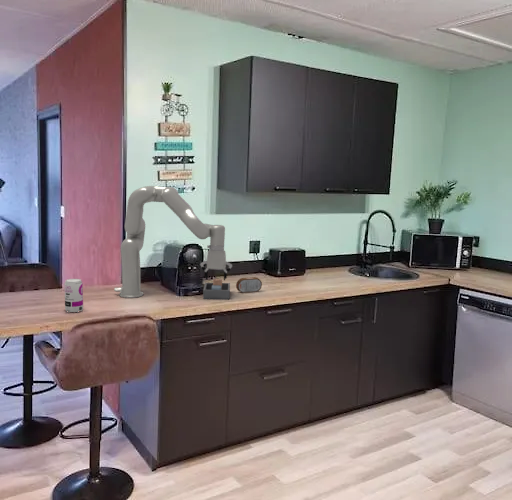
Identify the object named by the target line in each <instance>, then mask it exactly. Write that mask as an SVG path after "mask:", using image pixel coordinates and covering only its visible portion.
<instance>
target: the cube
mask: <svg viewBox="0 0 512 500" xmlns="http://www.w3.org/2000/svg"><path fill="white" fill-rule="evenodd" d="M212 290H221V285H212Z"/></svg>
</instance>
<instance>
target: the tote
mask: <svg viewBox="0 0 512 500" xmlns="http://www.w3.org/2000/svg"><path fill="white" fill-rule="evenodd" d="M212 285H213V282H205V283H204V285H203V290H202V298H203V300H224V301H226V300H229V301H230V298H231V297H230V295H231V283H230V282H222V290H212Z"/></svg>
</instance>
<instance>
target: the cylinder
mask: <svg viewBox="0 0 512 500" xmlns="http://www.w3.org/2000/svg"><path fill="white" fill-rule="evenodd" d="M212 283H213V285H221V290H222V283H223V279H222V278H213V279H212Z"/></svg>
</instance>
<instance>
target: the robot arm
mask: <svg viewBox="0 0 512 500" xmlns="http://www.w3.org/2000/svg"><path fill="white" fill-rule="evenodd" d="M155 202H156V203H164V204H165V205H166V206H167V207H168V208H169V209H170V210H171V211H172V212H173V213H174V214H175V215H176V217H178V218H179V219H180V221H181V222H182V223H183V225H185V226H186V228H187V229H188V230H189V231H190V232H191V233H192V234H193V235H194V236H195V237H196V238H197V239H199V240H206V239H208V238H210V240H209V241H210V243H209V245H207V249H209V250H208V251H207V257H206V260H205V261H202V262H200V264H199V266H200V268H201V269H202V271H203V272H204V278H205V280H208V274H209V273H208V272H209V270H215V271H216V270H217V271H223V272H224V273H223V281H226V279H228V278H227V277H228V276H227V274H228V272H230V271H231V269H232V268H233V264H232V263H230V262H228V261H227V254H226V253H227V252H226V251H225V239H226V238H225V237H226V236H225V235H226V227H225V226H224V225H222V224H208V223H204V222H203V221H201V220H200V219H199V217H198V216H197V215H196V213H195V212H194V210H193V208H192V207H191V205H190V204H189V203H188V202H187V201H186V200H185V199H184V198H183V197H182V196H181V195H180V194H179V191H178V190H177V188H175V187H173V186H157V185H156V186H155V185H147V186H143V187H138V188H137V189H135V190H133V191H132V193H130V195H129V197H128V201H127V206H126V214H125V220H124V231H125V232H126V238H125V239H124V240H123V241H122V243H121V245H120V255H121V278H122V279H121V283H122V285H121V287H114V289H113V291H114V292H117V293H118V292H119V294H118V295H119V297H121V298H125V299H133V298H134V299H136V298H140V297H143V296H144V292H143V291H141V258H140V257H141V256H140V251H141V250H142V248H143V247H144V242H145V234H146V233H145V232H146V222H145V220H144V218H143V216H144V215H143V214H144V207H145V206H144V205H145V204H148V203H155ZM204 265H206V267H205V266H204ZM227 266H228V268H226V267H227Z"/></svg>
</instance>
